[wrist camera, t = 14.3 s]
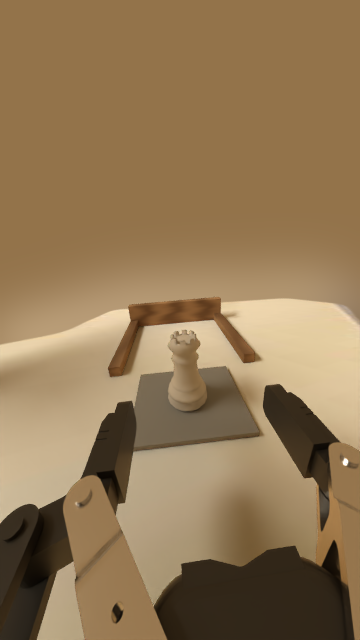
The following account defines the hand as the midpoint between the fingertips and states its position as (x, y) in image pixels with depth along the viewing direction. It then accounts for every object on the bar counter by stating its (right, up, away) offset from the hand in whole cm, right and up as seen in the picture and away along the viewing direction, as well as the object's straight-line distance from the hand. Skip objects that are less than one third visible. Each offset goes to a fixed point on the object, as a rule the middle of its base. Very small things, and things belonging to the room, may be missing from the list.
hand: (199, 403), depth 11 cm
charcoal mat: (0, -4, +10) cm, 11 cm away
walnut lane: (-1, +1, +24) cm, 24 cm away
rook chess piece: (0, -4, +10) cm, 11 cm away
